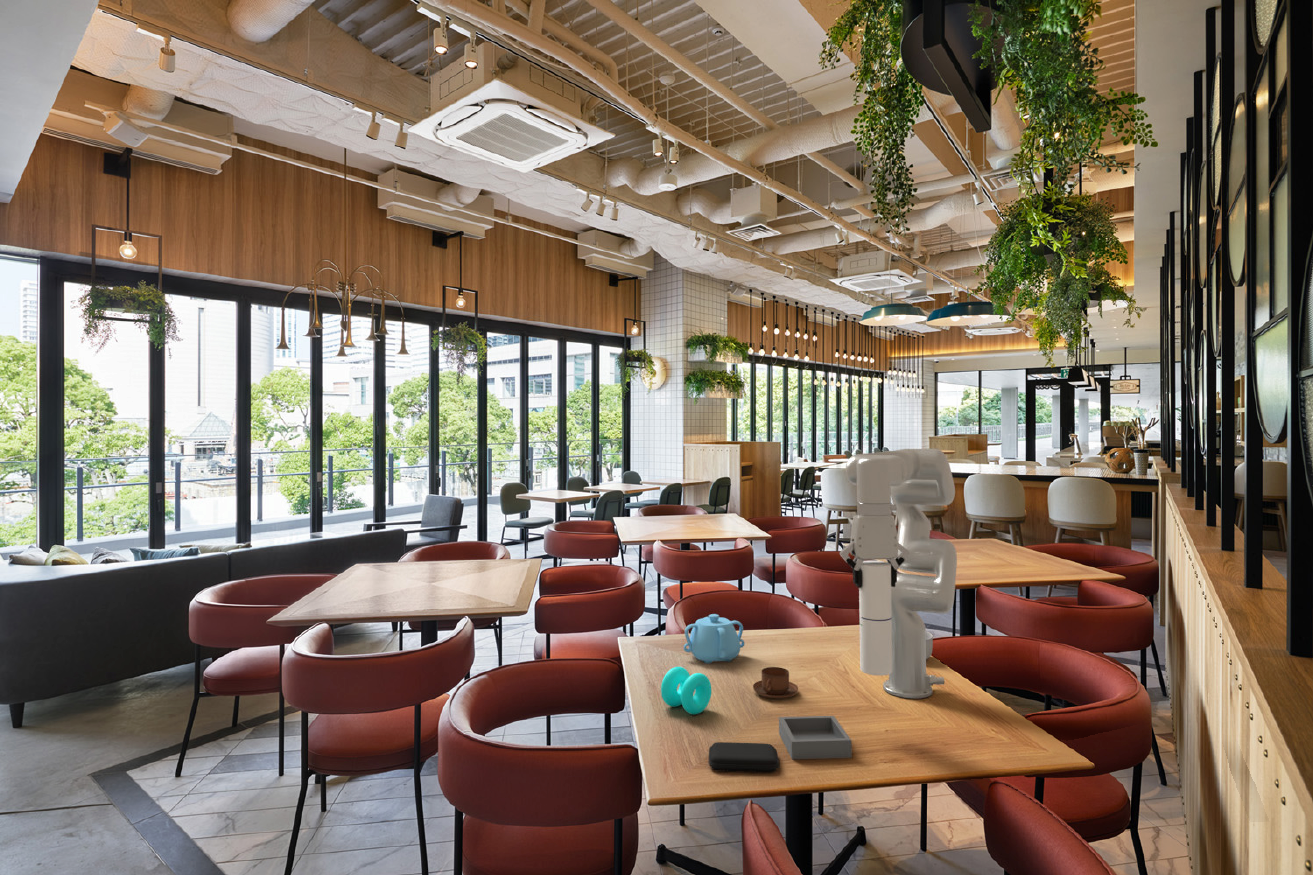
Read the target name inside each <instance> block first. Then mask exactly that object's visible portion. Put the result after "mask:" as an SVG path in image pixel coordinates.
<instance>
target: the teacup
mask: <svg viewBox="0 0 1313 875" xmlns="http://www.w3.org/2000/svg"><path fill="white" fill-rule="evenodd" d="M933 639H934V634H932V633H931V632H929V631H927V630H926V660H928V659H929V658H930V657H931V656H932V653H933V644H934V642H933V641H934V640H933Z"/></svg>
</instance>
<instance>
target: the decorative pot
mask: <svg viewBox="0 0 1313 875" xmlns="http://www.w3.org/2000/svg"><path fill="white" fill-rule="evenodd" d="M734 625H738V626H739V629H738V633H737V631H736V630H737V629H736V628H735V626H734ZM689 630H691V631H690V635H689ZM743 633H744V626H743V624H742V623H741V622H740V621H738V620H729V619H728V618H726V617H720V615H719V614H717V613H712V614H709V615H708V616H705V617H702V618H699V619H697V620H696V621H695V623H691V624H688V625H687V626H686V627H685V629H684V637H685V638H686V643H685V644H684V645H683V651H684V652H686V653H691V654H692V655H693V657H694V658H695V659H697V660H699V661H703V663H704V664H712V663H713V662H721V661H722V662H726V663H729V662H732V660H733V659H736V658H737V656H739V653H740V651H741V648H743V647H745V641H744V639H742V635H743ZM740 642H741V643H740ZM687 646H688V648H687Z"/></svg>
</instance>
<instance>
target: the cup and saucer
mask: <svg viewBox="0 0 1313 875" xmlns="http://www.w3.org/2000/svg"><path fill="white" fill-rule="evenodd" d="M752 688H753V691H754V692H755V693H756V694H758V695H759V696H761V697H764V698H768V699H776V700H777V699H778V700H779V699H780V700H781V699H788V698H791V697H794V696H795V695H796V694H797V693H798V691H799V687H798V685H797V684H795V683H793V682H791V681H790V672H789V670H788V669H786V668H784V667H779V666H769V667H765V668H763V669H761V680H759V681H756V682H754V683H753V685H752Z"/></svg>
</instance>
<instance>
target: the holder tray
mask: <svg viewBox="0 0 1313 875" xmlns="http://www.w3.org/2000/svg"><path fill="white" fill-rule="evenodd" d="M778 734H779V736H780V738H781V741H782V742H783V744H784V746H785V748H786V750H787V752H788V754H789V757H790V758H791V760H812V759H813V760H819V759H850V758H852V757H853V756H852V753H853V752H852V751H853V750H852V748H853V747H852V739H851V738H850V735H848V733H847V732H846V730H845V729H844V728H843V726H842V725H841V723H840V722H839V721H838V719H837V718H836V717H835V716H834V715H815V716H814V715H813V716H812V715H811V716H808V715H807V716H805V715H804V716H778Z"/></svg>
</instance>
